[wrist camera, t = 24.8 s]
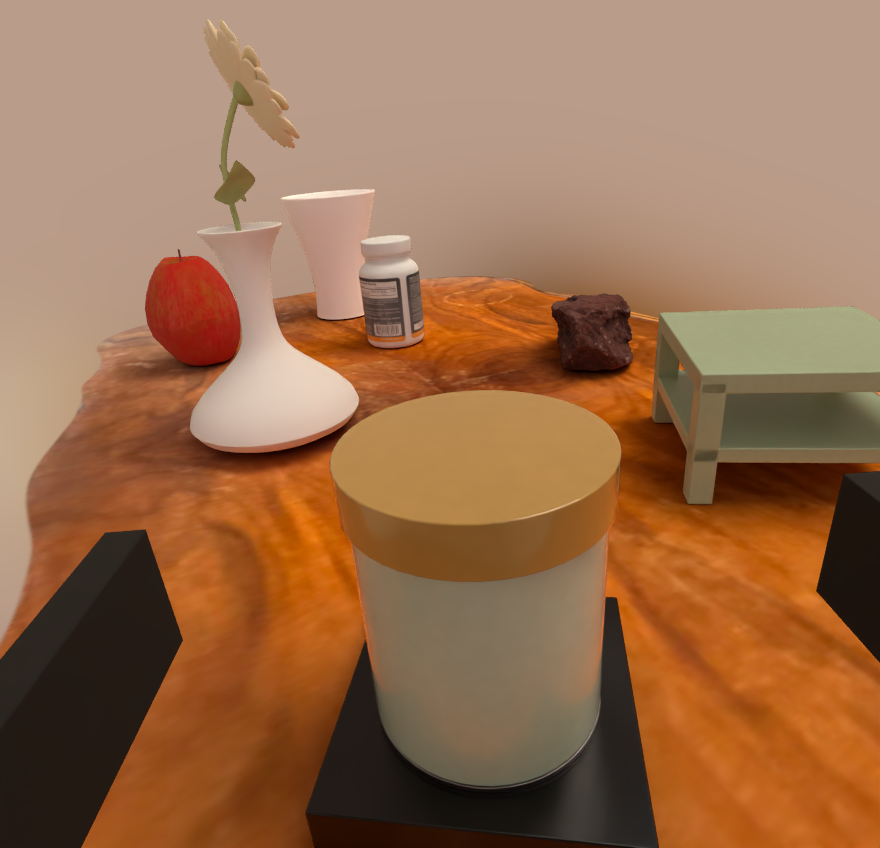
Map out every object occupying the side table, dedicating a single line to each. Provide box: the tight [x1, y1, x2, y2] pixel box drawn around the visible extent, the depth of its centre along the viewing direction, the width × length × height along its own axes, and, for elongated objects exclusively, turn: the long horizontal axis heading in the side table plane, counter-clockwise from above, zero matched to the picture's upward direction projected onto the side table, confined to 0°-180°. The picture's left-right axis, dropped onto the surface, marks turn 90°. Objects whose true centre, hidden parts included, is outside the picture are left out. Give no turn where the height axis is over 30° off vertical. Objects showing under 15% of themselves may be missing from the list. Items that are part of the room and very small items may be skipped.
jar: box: [330, 390, 622, 787], centre depth 17 cm, size 7×7×8 cm
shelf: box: [651, 306, 880, 504], centre depth 33 cm, size 11×11×7 cm
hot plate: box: [305, 597, 659, 848], centre depth 20 cm, size 9×9×2 cm
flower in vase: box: [190, 19, 359, 453], centre depth 38 cm, size 13×11×25 cm
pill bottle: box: [359, 235, 424, 348], centre depth 58 cm, size 6×6×10 cm
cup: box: [280, 189, 375, 320], centre depth 70 cm, size 10×10×14 cm
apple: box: [145, 250, 240, 366], centre depth 57 cm, size 8×8×11 cm
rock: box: [552, 293, 633, 371], centre depth 51 cm, size 11×6×8 cm
